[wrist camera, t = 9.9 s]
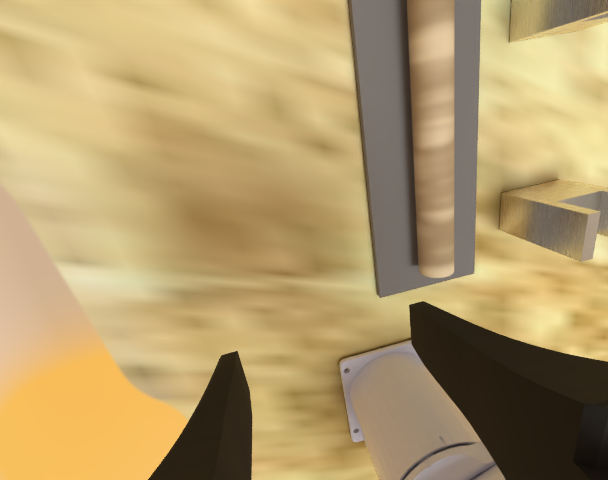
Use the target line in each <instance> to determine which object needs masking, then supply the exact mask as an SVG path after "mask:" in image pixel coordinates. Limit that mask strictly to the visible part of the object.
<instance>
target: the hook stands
mask: <svg viewBox="0 0 608 480" xmlns="http://www.w3.org/2000/svg"><path fill="white" fill-rule="evenodd" d="M606 22H608V0H512V4H511V22H510V41H509V42H514V41H520V40H526V39H532V38H538V37H544V36H550V35H556V34H562V33H568V32H574V31H578V30H582V29H585V28H589V27H592V26H596V25H599V24H603V23H606ZM499 230H501V231H504V232H506V233H509V234H511V235H514V236H516V237H519V238H522V239H524V240H527V241H529V242H532V243H534V244H537V245H539V246H542V247H545V248H547V249H550V250H552V251H555V252H557V253H560V254H563V255H565V256H568V257H570V258H573V259H575V260H578V261H580V262H582V261H586V260H589V259H592V258H593V253H594V247H595V241H596V235H597V234H601V235H604V236H608V187H601V186H595V185H589V184H583V183H576V182H570V181H564V180H555V181H551V182H547V183H542V184H538V185H534V186H529V187H525V188H520V189H516V190H512V191H507V192H503V193H501V206H500V225H499Z"/></svg>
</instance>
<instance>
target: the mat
mask: <svg viewBox="0 0 608 480" xmlns="http://www.w3.org/2000/svg"><path fill="white" fill-rule="evenodd" d="M348 3H349V13H350V23H351V33H352V43H353V53H354V63H355V73H356V83H357V93H358V103H359V113H360V123H361V133H362V143H363V153H364V163H365V173H366V183H367V193H368V203H369V213H370V223H371V233H372V243H373V253H374V263H375V273H376V283H377V293H378V296H379V297H380V298H381V297H385V296H389V295H393V294H397V293H401V292H404V291H408V290H412V289H416V288H420V287H424V286H427V285H431V284H435V283H439V282H443V281H447V280H450V279H454V278H458V277H462V276H466V275H470V274H473V273H474V258H475V219H476V179H477V140H478V100H479V61H480V21H481V0H455V21H454V273H453V274H452V275H450V276H448V277H444V278H431V277H426V276H424V275H422V274H421V273H420V272H419V267H418V244H417V221H416V199H415V176H414V153H413V130H412V108H411V85H410V62H409V39H408V17H407V0H348Z"/></svg>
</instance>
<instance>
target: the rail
mask: <svg viewBox="0 0 608 480" xmlns="http://www.w3.org/2000/svg"><path fill="white" fill-rule="evenodd" d="M407 17H408V39H409V62H410V85H411V108H412V130H413V153H414V176H415V199H416V221H417V244H418V267H419V272H420V273H421V274H422V275H424V276H426V277H431V278H444V277H448V276H450V275H452V274H453V273H454V21H455V0H407Z"/></svg>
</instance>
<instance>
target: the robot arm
mask: <svg viewBox="0 0 608 480" xmlns="http://www.w3.org/2000/svg"><path fill="white" fill-rule="evenodd" d="M409 308H410V326H411V340H409V341H405V342H402V343H398V344H395V345H391V346H387V347H384V348H380V349H377V350H373V351H370V352H366V353H362V354H359V355H355V356H352V357H348V358H345V359H342V360H341V361H340V363H339V368H340V374H341V380H342V386H343V392H344V398H345V404H346V410H347V416H348V422H349V428H350V434H351V438H352V441H353V442H360V441H363V440H364V442H365V444H366V447H367V449H368V452H369V454H370V457H371V460H372V462H373V465H374V467H375V470H376V472H377V475H378V477H379V480H608V362H606V361H600V360H595V359H589V358H584V357H579V356H574V355H570V354H565V353H561V352H557V351H553V350H549V349H545V348H541V347H537V346H534V345H530V344H527V343H524V342H521V341H518V340H515V339H511V338H508V337H506V336H503V335H500V334H497V333H495V332H492V331H490V330H487V329H484V328H482V327H480V326H477V325H475V324H472V323H470V322H468V321H466V320H463V319H461V318H459V317H457V316H454V315H452V314H450V313H448V312H446V311H444V310H441V309H439V308H437V307H435V306H433V305H431V304H428V303H426V302H423V301H422V302H418V303H415V304H411V305H409ZM347 368H348V369H347ZM345 369H347V370H345ZM251 468H252V409H251V399H250V390H249V387H248V384H247V380H246V377H245V374H244V371H243V367H242V364H241V361H240V358H239V355H238V351H236V352H232V353H228V354H225V355H222V356H221V357H220V359H219V361H218V364H217V366H216V368H215V371H214V373H213V375H212V377H211V380H210V382H209V384H208V386H207V388H206V390H205V392H204V394H203V396H202V398H201V400H200V402H199V404H198V406H197V407H196V409H195V411H194V413H193V415H192V416H191V418H190V420H189V422H188V423H187V425H186V427H185V428H184V430H183V432H182V433H181V435H180V436H179V438H178V439H177V441H176V442H175V444H174V445H173V447H172V448H171V450H170V451H169V453H168V454H167V456H166V457H165V458H164V459H163V461H162V462H161V464H160V465H159V466H158V467H157V469H156V470H155V471H154V473H153V474H152V475H151V477H150V478H149V479H148V480H251Z"/></svg>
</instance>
